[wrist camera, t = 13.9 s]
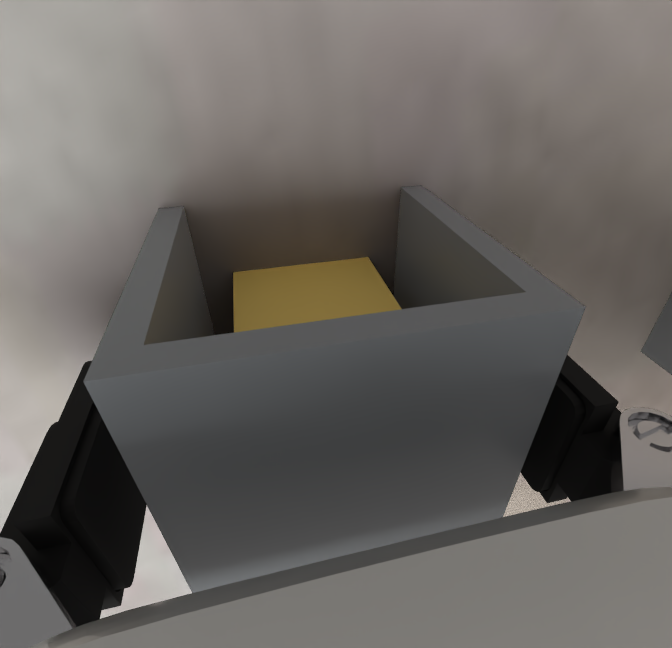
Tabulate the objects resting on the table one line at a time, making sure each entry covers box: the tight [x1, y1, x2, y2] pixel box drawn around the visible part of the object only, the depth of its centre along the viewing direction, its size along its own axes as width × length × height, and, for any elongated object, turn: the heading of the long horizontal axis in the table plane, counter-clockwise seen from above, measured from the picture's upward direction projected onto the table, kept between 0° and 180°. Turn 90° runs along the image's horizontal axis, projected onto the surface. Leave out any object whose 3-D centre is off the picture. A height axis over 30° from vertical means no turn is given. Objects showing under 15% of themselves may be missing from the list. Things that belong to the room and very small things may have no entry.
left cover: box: [83, 185, 586, 593], centre depth 10 cm, size 7×8×6 cm
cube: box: [233, 257, 401, 332], centre depth 11 cm, size 4×4×4 cm
